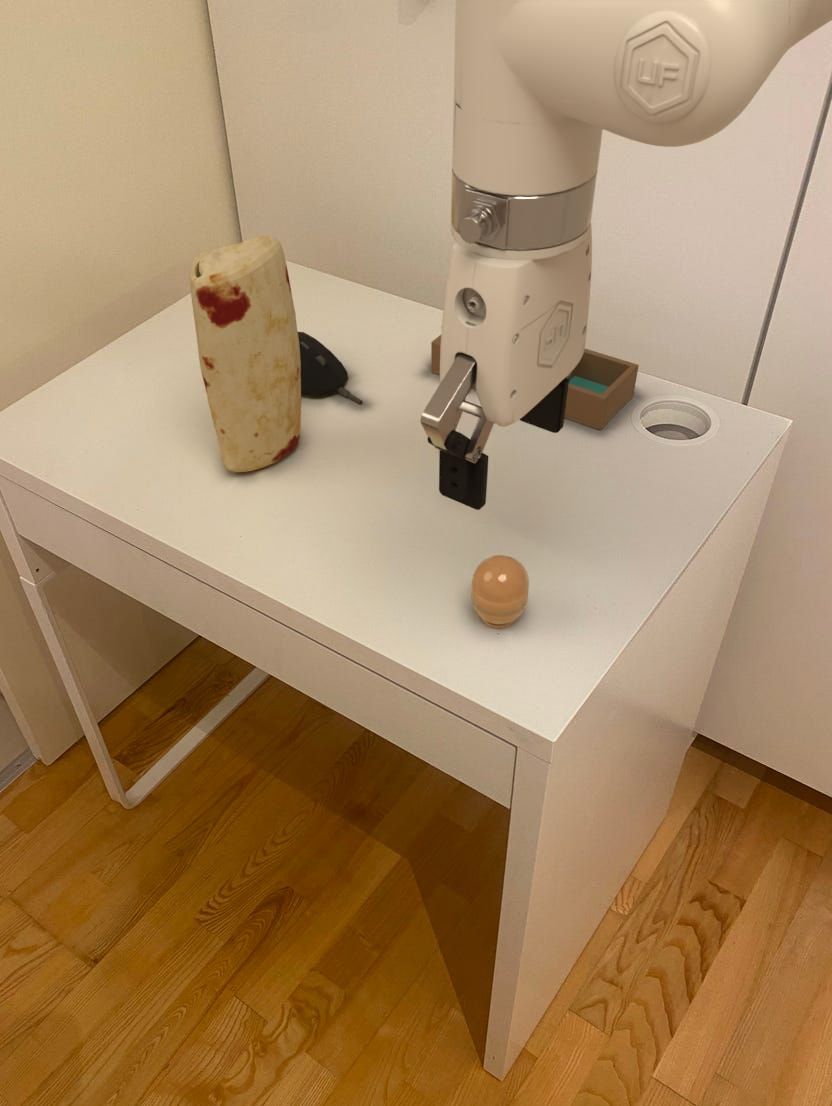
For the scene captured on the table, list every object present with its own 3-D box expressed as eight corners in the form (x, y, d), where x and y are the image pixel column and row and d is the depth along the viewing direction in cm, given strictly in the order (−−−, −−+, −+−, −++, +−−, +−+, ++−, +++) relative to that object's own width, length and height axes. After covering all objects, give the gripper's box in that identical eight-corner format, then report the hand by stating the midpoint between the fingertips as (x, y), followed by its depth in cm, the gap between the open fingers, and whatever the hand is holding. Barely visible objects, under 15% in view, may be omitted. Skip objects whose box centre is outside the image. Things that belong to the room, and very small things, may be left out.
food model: (250, 494, 88) (213, 282, 74) (202, 465, 92) (157, 257, 77) (327, 443, 93) (306, 233, 78) (278, 417, 96) (249, 212, 82)
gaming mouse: (339, 419, 95) (336, 382, 92) (237, 368, 103) (231, 333, 100) (383, 390, 98) (381, 354, 95) (281, 342, 106) (276, 308, 103)
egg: (530, 601, 77) (535, 547, 73) (520, 640, 74) (525, 586, 70) (476, 593, 78) (478, 539, 74) (465, 631, 75) (467, 577, 71)
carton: (467, 342, 103) (468, 312, 101) (633, 396, 95) (638, 364, 92) (431, 372, 100) (431, 341, 98) (600, 430, 91) (604, 399, 89)
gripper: (495, 288, 47) (480, 556, 59) (659, 159, 56) (615, 415, 68) (368, 249, 50) (379, 510, 63) (542, 134, 59) (521, 383, 72)
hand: (502, 461), depth 65 cm, fingers open, 9 cm apart
